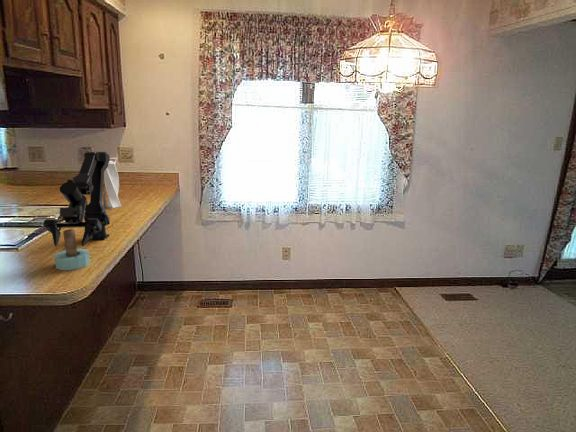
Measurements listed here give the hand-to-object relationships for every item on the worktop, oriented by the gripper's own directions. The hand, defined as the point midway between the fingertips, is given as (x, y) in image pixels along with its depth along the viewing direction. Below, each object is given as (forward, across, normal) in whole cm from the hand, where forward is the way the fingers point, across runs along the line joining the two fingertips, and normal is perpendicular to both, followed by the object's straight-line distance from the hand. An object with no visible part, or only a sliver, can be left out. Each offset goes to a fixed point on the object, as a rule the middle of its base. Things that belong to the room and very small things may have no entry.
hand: (69, 245), depth 142 cm
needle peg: (+4, 0, +6) cm, 8 cm away
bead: (+4, 0, +6) cm, 8 cm away
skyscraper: (-55, -8, +67) cm, 87 cm away
